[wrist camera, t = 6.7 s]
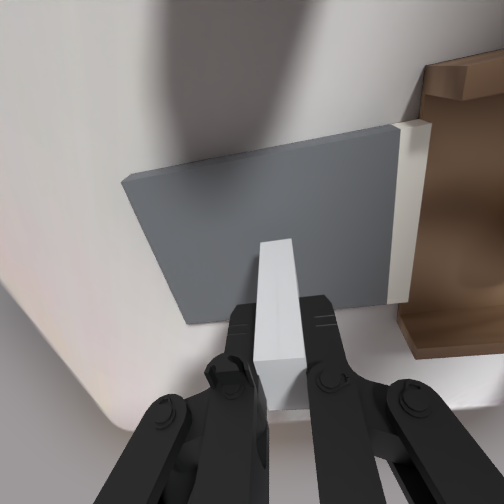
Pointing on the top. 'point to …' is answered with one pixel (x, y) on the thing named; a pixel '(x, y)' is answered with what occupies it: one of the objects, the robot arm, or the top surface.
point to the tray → (460, 214)
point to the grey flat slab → (289, 219)
